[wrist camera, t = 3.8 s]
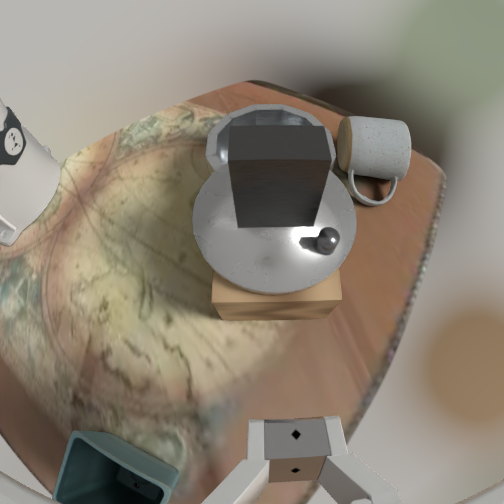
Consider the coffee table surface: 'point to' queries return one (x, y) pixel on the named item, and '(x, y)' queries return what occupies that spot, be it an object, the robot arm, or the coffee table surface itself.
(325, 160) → the lid
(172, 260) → the coffee table surface
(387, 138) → the ceramic mug
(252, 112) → the pot
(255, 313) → the tan block
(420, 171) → the coffee table surface
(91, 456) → the flower pot
